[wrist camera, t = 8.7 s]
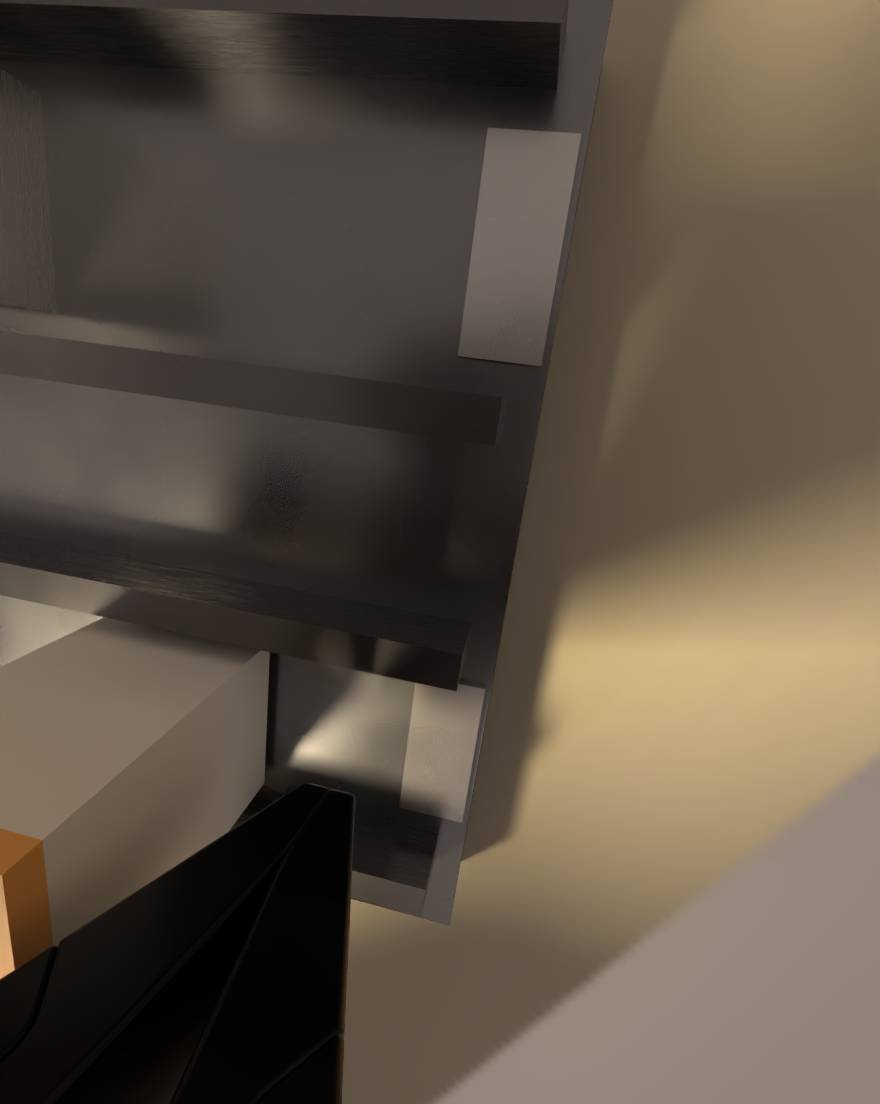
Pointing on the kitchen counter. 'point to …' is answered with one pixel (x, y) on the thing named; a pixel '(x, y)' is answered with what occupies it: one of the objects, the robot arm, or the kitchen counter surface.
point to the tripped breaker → (117, 769)
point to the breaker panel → (291, 360)
